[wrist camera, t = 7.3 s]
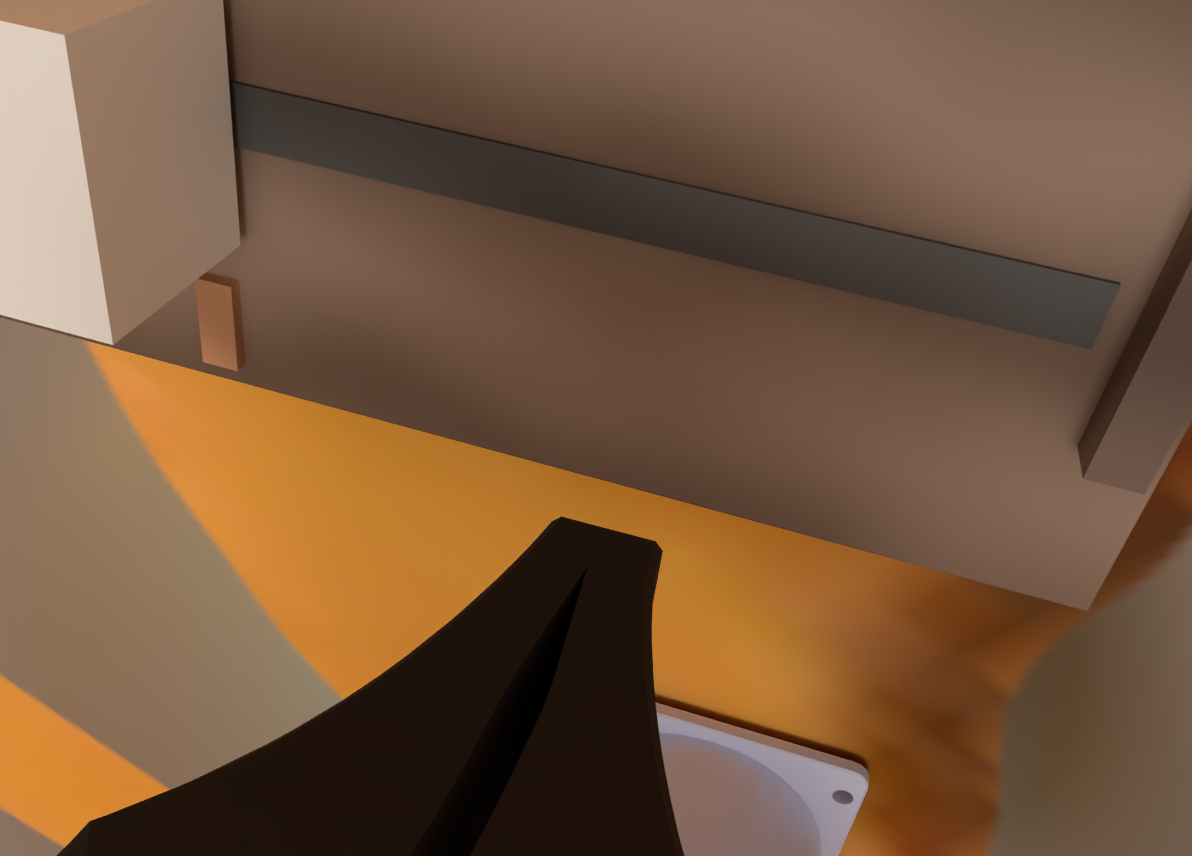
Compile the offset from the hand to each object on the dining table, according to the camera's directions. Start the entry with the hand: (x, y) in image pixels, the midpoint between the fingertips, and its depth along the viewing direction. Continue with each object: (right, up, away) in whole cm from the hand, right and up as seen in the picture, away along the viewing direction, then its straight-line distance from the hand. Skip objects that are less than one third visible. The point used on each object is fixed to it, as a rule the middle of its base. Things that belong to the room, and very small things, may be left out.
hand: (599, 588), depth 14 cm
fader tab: (-8, +8, +6) cm, 13 cm away
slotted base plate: (-1, +7, +7) cm, 10 cm away
